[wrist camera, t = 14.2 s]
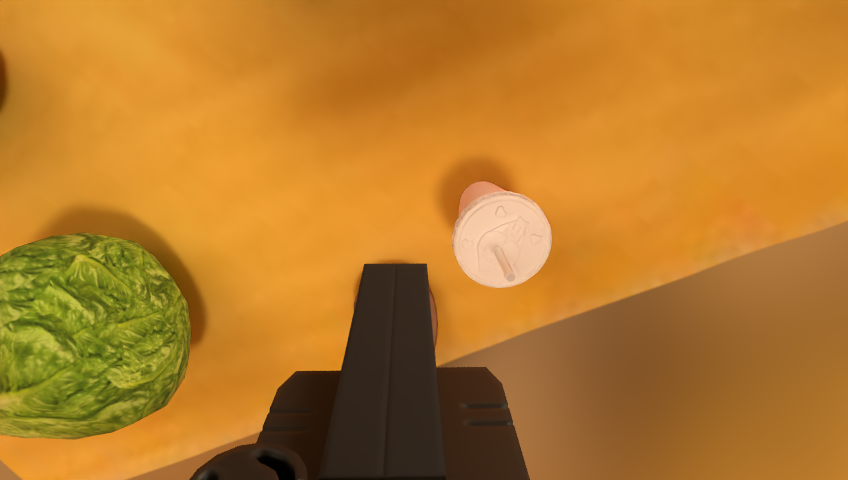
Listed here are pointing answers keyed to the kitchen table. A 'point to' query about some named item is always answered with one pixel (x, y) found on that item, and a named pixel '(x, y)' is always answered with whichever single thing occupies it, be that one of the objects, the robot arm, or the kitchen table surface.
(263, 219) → the kitchen table surface
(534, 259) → the smoothie
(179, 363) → the lettuce
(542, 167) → the kitchen table surface
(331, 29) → the kitchen table surface
